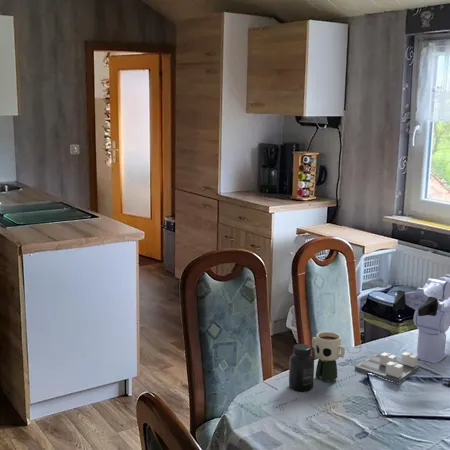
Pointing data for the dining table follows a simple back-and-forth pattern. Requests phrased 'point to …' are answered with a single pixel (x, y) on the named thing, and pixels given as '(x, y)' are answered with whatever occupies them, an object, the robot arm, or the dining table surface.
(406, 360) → the block
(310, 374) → the supplement bottle
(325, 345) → the character mug
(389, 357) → the block
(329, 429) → the dining table surface
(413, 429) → the dining table surface
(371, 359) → the panel
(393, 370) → the block
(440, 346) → the robot arm
